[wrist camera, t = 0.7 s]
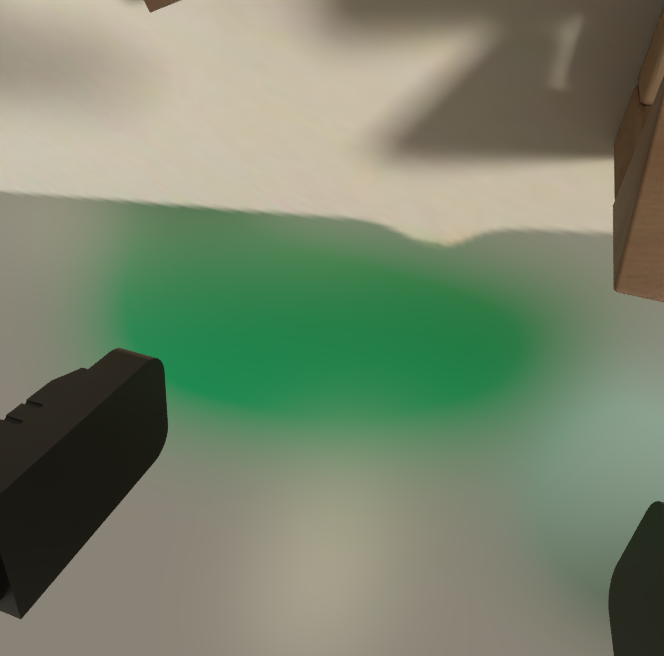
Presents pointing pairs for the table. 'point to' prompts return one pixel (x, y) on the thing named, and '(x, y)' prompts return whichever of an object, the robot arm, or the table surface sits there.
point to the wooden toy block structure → (641, 182)
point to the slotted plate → (158, 4)
